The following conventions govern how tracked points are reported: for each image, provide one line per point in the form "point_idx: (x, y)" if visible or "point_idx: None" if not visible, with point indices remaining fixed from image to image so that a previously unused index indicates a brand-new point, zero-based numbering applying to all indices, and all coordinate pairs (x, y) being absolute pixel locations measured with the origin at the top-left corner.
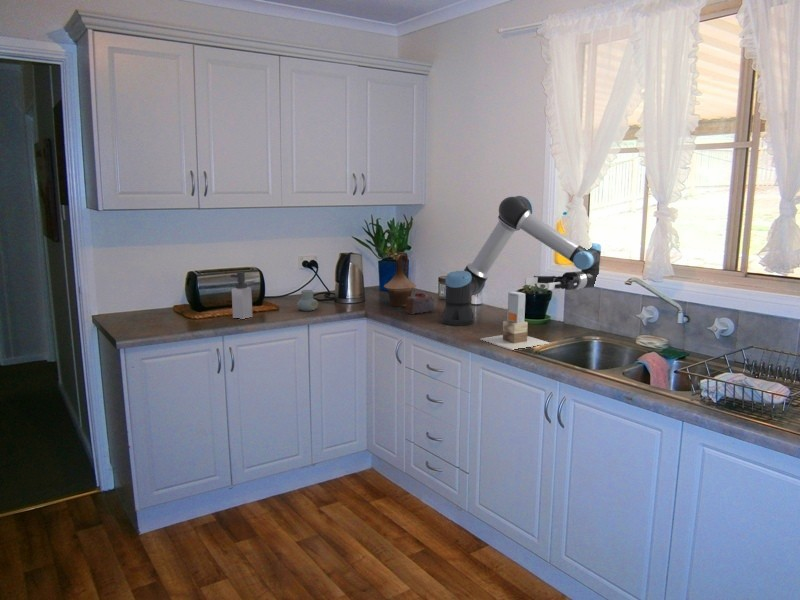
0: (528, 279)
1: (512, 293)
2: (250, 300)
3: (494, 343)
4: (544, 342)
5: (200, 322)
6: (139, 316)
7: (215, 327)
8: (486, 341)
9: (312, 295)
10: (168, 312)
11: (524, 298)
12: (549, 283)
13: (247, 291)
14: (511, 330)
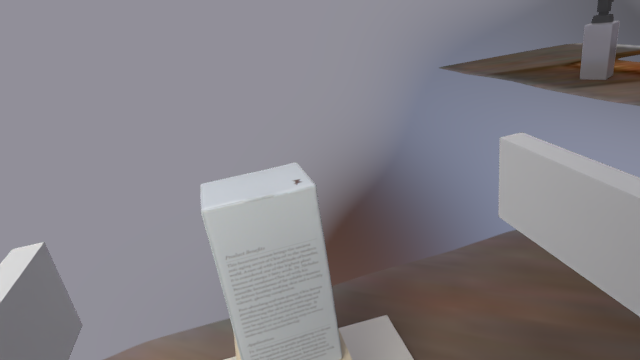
0: (529, 171)
1: (256, 172)
2: (605, 47)
3: None
4: None
5: (547, 69)
6: (571, 51)
7: (516, 77)
8: (347, 329)
9: None
10: None
11: (210, 241)
12: (10, 255)
13: (599, 30)
14: None
